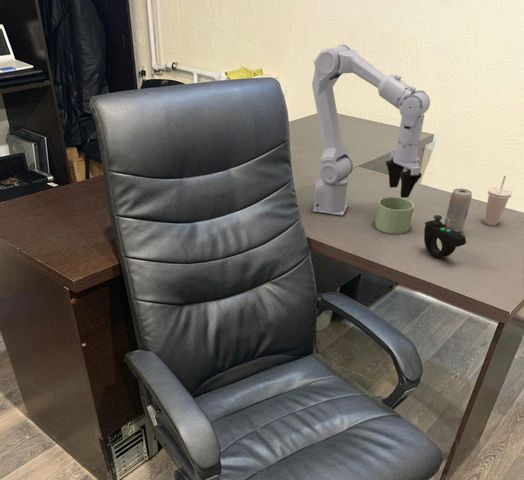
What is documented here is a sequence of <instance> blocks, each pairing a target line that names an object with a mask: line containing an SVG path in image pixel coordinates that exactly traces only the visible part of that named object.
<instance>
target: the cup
mask: <svg viewBox="0 0 524 480" xmlns="http://www.w3.org/2000/svg"><path fill="white" fill-rule="evenodd" d="M399 209H402V210H399ZM414 209H415V204H414V202H413V201H412V200H409V199H407V198H402V197H399V196H386V197H382V198H380V199H379V200H378V202H377V208H376V214H375V220H374V227H375V229H377V230H378V231H380V232H383V233H387V234H393V235H400V234H404V233H407V232H408V231H410V228H411V223H412V218H413V213H414Z"/></svg>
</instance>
